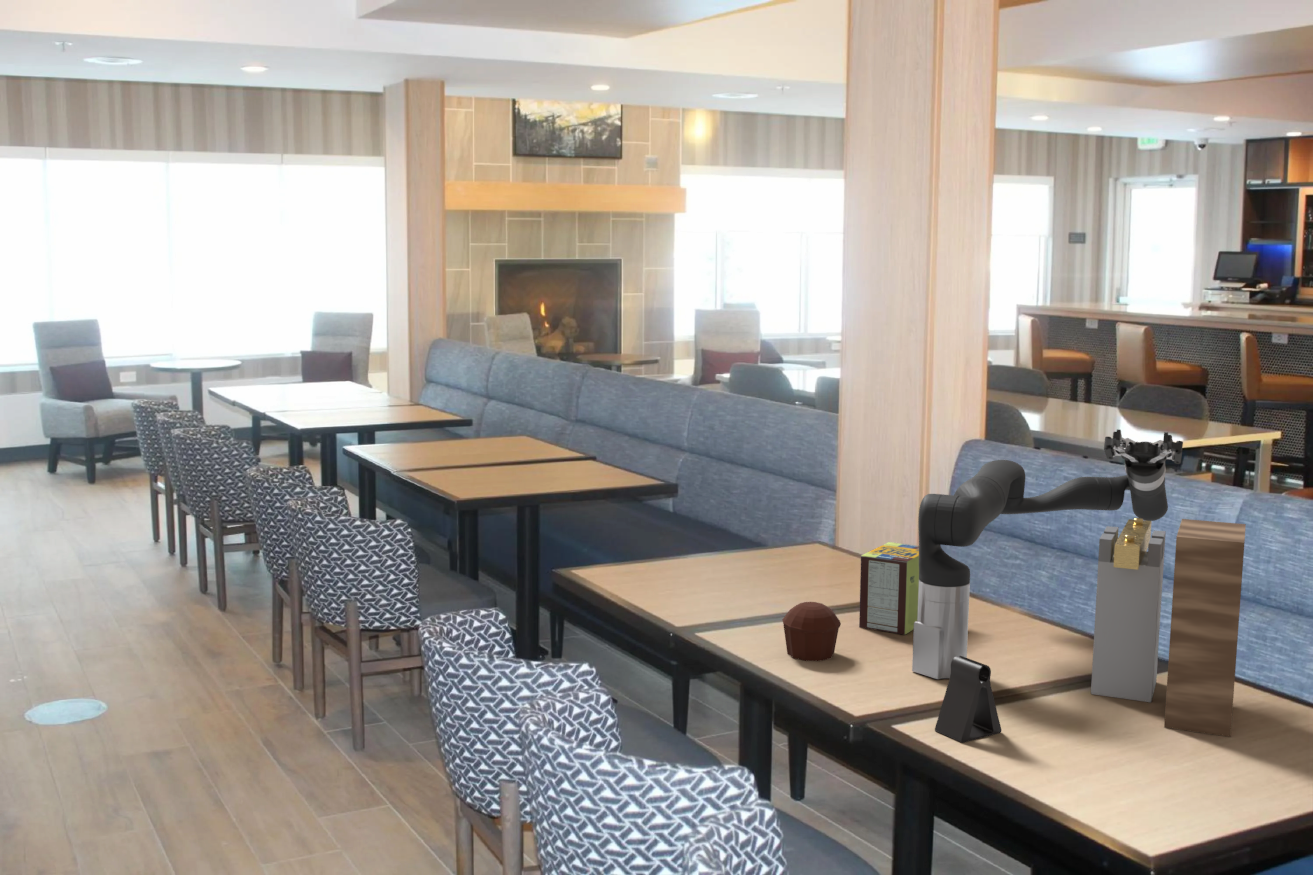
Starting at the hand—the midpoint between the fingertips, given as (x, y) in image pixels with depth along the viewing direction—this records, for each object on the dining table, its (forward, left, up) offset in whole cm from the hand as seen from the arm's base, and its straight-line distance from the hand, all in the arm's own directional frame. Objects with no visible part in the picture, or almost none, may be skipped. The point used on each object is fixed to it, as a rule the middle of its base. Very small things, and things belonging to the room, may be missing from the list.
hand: (1141, 435), depth 248 cm
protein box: (-21, +42, -43) cm, 63 cm away
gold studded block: (-17, -10, -19) cm, 28 cm away
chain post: (-20, -11, -43) cm, 48 cm away
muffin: (-51, +37, -43) cm, 76 cm away
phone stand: (-60, -8, -43) cm, 74 cm away
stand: (-23, -27, -43) cm, 56 cm away
